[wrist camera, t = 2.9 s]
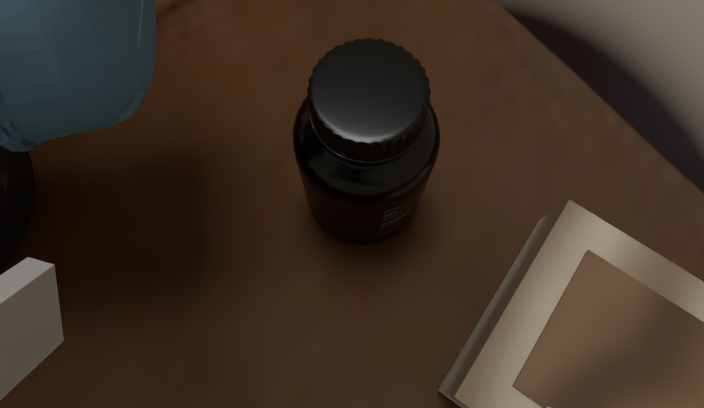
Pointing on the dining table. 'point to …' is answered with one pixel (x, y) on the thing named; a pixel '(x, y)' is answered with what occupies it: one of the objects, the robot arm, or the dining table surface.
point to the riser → (585, 326)
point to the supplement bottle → (366, 140)
